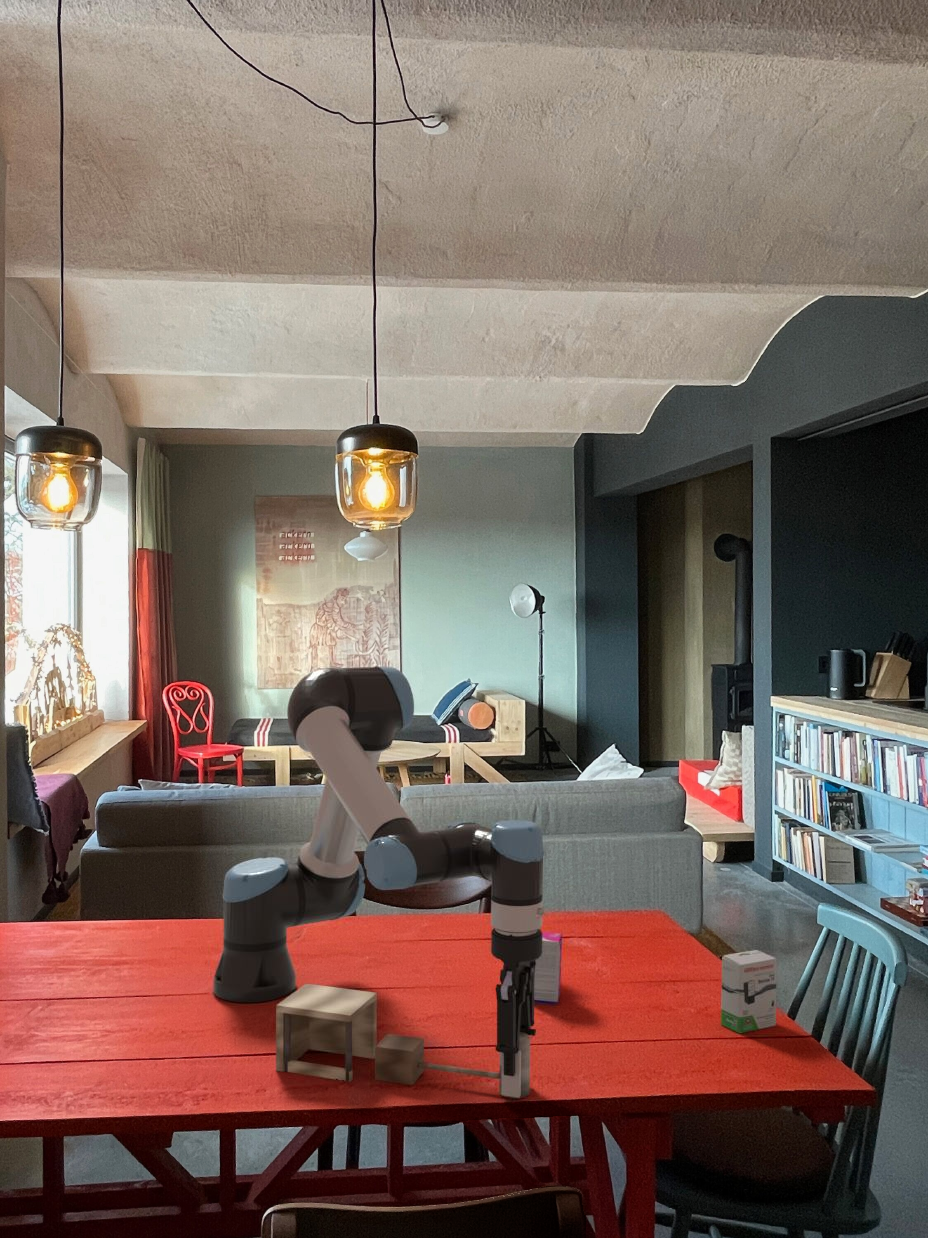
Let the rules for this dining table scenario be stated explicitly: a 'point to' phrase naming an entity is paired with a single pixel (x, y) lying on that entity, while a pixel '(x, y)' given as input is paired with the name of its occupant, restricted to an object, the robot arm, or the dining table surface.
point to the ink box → (748, 991)
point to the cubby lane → (325, 1028)
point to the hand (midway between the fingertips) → (515, 1087)
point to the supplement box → (548, 970)
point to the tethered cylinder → (406, 1063)
